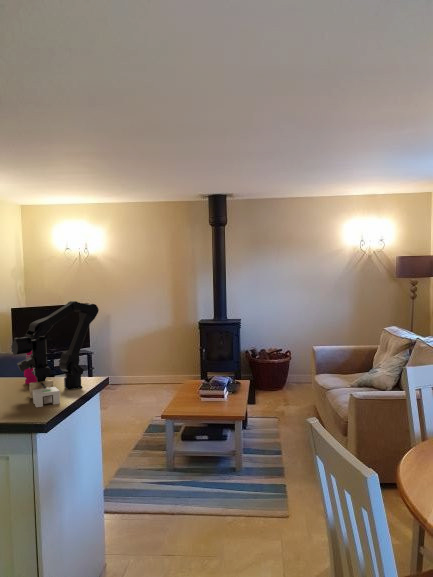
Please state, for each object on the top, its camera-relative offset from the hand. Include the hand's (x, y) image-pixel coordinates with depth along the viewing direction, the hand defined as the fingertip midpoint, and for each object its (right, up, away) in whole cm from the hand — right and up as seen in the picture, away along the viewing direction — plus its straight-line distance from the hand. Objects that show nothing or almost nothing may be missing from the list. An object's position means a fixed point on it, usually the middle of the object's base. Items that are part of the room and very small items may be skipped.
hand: (40, 388), depth 178 cm
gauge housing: (+7, -3, -11) cm, 14 cm away
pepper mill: (-13, -3, +23) cm, 27 cm away
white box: (+5, -3, -8) cm, 10 cm away
